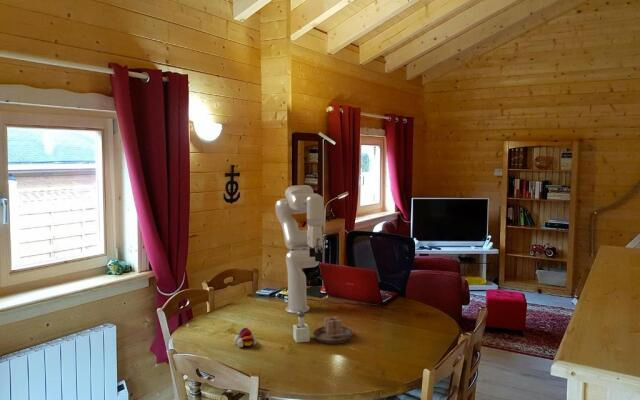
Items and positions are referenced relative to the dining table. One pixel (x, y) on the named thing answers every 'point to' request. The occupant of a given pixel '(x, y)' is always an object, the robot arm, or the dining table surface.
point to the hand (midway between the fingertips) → (315, 258)
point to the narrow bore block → (332, 325)
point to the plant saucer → (332, 339)
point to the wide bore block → (301, 333)
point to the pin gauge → (301, 319)
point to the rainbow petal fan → (245, 338)
